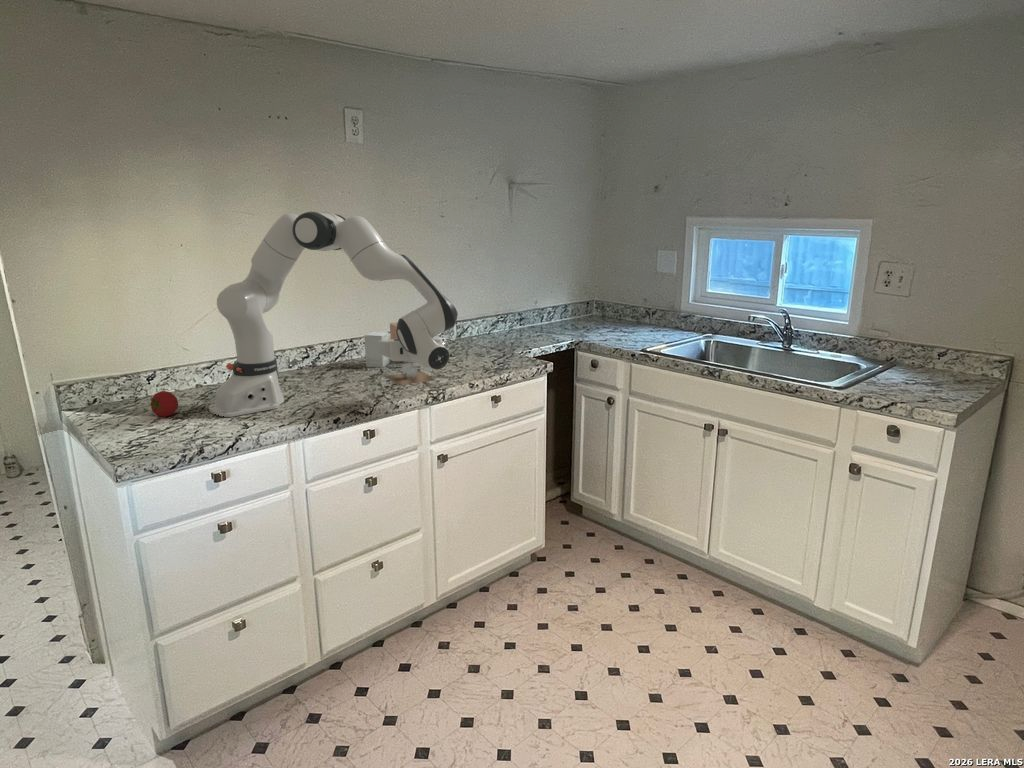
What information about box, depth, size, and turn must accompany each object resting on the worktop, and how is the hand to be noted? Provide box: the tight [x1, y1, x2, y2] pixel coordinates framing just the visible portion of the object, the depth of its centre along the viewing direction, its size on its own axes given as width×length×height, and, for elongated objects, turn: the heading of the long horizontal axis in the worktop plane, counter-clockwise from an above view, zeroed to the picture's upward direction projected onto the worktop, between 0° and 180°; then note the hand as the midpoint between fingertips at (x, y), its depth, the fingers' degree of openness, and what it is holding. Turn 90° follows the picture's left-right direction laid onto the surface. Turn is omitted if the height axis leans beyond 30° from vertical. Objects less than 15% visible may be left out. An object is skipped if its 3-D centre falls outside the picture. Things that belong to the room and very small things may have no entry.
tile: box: [384, 370, 437, 386], centre depth 235 cm, size 14×14×1 cm
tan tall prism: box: [389, 322, 398, 339], centre depth 212 cm, size 6×6×12 cm
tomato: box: [149, 390, 179, 418], centre depth 196 cm, size 8×8×8 cm
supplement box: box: [363, 331, 391, 368], centre depth 255 cm, size 7×7×13 cm
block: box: [401, 364, 418, 380], centre depth 234 cm, size 4×4×4 cm
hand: (401, 340), depth 213 cm, fingers closed on tan tall prism, 6 cm apart
